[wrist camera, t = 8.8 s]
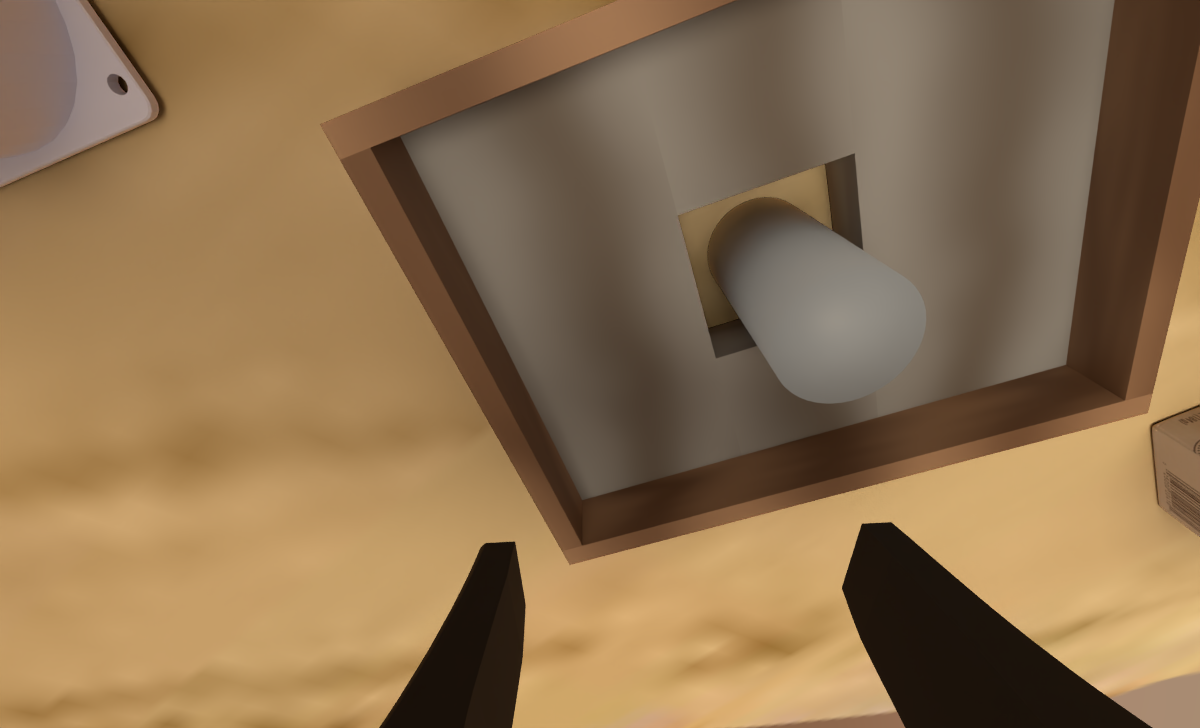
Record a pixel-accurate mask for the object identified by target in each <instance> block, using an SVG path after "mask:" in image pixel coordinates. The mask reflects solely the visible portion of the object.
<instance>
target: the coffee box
mask: <svg viewBox="0 0 1200 728" xmlns="http://www.w3.org/2000/svg"><path fill="white" fill-rule="evenodd" d="M1152 437H1153V448H1154V458H1155V469H1156V479H1157V489H1158V501H1159V506H1160V507H1161V508H1163V509H1164V510H1165V511H1166V512H1168V513H1169V514H1170V515H1172V516H1173V517H1174V518H1175V519H1177V520H1178V521H1179V522H1181V523H1182V524H1183V525H1185V526H1186V527H1187V528H1189V529H1190V530H1191V531H1193V532H1194V533H1195V534H1197V535H1198V536H1199V537H1200V407H1197V408H1195V409H1192V410H1189V411H1187V412H1184V413H1182V414H1179V415H1177V416H1174V417H1171V418H1169V419H1166V420H1164V421H1162V422H1159V423H1157V424H1155V425H1154V426H1153V427H1152Z"/></svg>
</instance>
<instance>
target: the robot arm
mask: <svg viewBox="0 0 1200 728" xmlns="http://www.w3.org/2000/svg"><path fill="white" fill-rule="evenodd" d="M119 76H121V77H122V78H123V79H124V80H125V81H126V83H127V86H128V92H127V93H126V92H125V91H124V90H123V89H122V88H121V87H120V85H119V83H118V77H119ZM158 113H159V107H158V103H157V101H156V99H155V97H154V95H153V94H152V92H151V91H150V89H149V88H148V87H147V85H146V84H145V82H144V81H143V79H142V78H141V77H140V75H139V74H138V72H137V71H136V69H135V68H134V67H133V65H132V64H131V62H130V61H129V59H128V58H127V57H126V55H125V54H124V52H123V51H122V49H121V48H120V47H119V45H118V44H117V42H116V41H115V39H114V38H113V37H112V35H111V34H110V32H109V31H108V29H107V28H106V27H105V25H104V24H103V22H102V21H101V19H100V18H99V17H98V15H97V14H96V12H95V11H94V9H93V8H92V7H91V5H90V4H89V2H88V1H87V0H0V187H3V186H5V185H7V184H10V183H12V182H14V181H16V180H19V179H21V178H23V177H25V176H28V175H30V174H32V173H35V172H37V171H39V170H41V169H44V168H46V167H48V166H50V165H53V164H55V163H57V162H60V161H62V160H64V159H66V158H69V157H71V156H73V155H75V154H78V153H80V152H82V151H85V150H87V149H89V148H91V147H94V146H96V145H98V144H100V143H103V142H105V141H107V140H109V139H112V138H114V137H116V136H119V135H121V134H123V133H125V132H128V131H130V130H132V129H134V128H137V127H139V126H141V125H144V124H146V123H148V122H150V121H153V120H154V119H155V118H156V117H157V116H158ZM842 590H843V592H844V595H845V598H846V601H847V604H848V607H849V609H850V612H851V615H852V618H853V620H854V623H855V625H856V628H857V631H858V633H859V636H860V638H861V640H862V643H863V645H864V647H865V649H866V651H867V653H868V655H869V657H870V659H871V661H872V663H873V665H874V667H875V669H876V671H877V673H878V675H879V677H880V679H881V681H882V683H883V685H884V687H885V689H886V691H887V693H888V695H889V696H890V698H891V700H892V702H893V704H894V706H895V708H896V710H897V712H898V714H899V716H900V718H901V720H902V722H903V724H904V726H905V728H1152V727H1150V726H1149V725H1147V724H1146V723H1145V722H1143V721H1142V720H1140V719H1139V718H1137V717H1136V716H1135V715H1133V714H1132V713H1130V712H1129V711H1127V710H1126V709H1124V708H1123V707H1122V706H1120V705H1119V704H1117V703H1116V702H1114V701H1113V700H1112V699H1110V698H1109V697H1107V696H1106V695H1104V694H1103V693H1102V692H1100V691H1099V690H1097V689H1096V688H1095V687H1093V686H1092V685H1090V684H1089V683H1088V682H1086V681H1085V680H1084V679H1082V678H1081V677H1079V676H1078V675H1077V674H1075V673H1074V672H1073V671H1071V670H1070V669H1069V668H1067V667H1066V666H1065V665H1063V664H1062V663H1061V662H1060V661H1058V660H1057V659H1056V658H1054V657H1053V656H1052V655H1050V654H1049V653H1048V652H1046V651H1045V650H1044V649H1043V648H1041V647H1040V646H1039V645H1037V644H1036V643H1035V642H1033V641H1032V640H1031V639H1030V638H1028V637H1027V636H1026V635H1025V634H1023V633H1022V632H1021V631H1020V630H1018V629H1017V628H1016V627H1015V626H1013V625H1012V624H1011V623H1010V622H1008V621H1007V620H1006V619H1005V618H1003V617H1002V616H1001V615H1000V614H998V613H997V612H996V611H995V610H994V609H992V608H991V607H990V606H989V605H988V604H986V603H985V602H984V601H983V600H982V599H980V598H979V597H978V596H977V595H976V594H974V593H973V592H972V591H971V590H970V589H968V588H967V587H966V586H965V585H964V584H963V583H961V582H960V581H959V580H958V579H957V578H956V577H954V576H953V575H952V574H951V573H950V572H949V571H947V570H946V569H945V568H944V567H943V566H942V565H940V564H939V563H938V562H937V561H936V560H935V559H933V558H932V557H931V556H930V555H929V554H928V553H927V552H925V551H924V550H923V549H922V548H921V547H920V546H918V545H917V544H916V543H915V542H914V541H913V540H911V539H910V538H909V537H908V536H907V535H906V534H904V533H903V532H902V531H901V530H900V529H899V528H897V527H896V526H895V525H894V524H893V523H891V522H888V523H868V524H862V525H861V528H860V532H859V535H858V538H857V541H856V544H855V548H854V551H853V554H852V557H851V560H850V564H849V567H848V570H847V573H846V576H845V580H844V583H843V586H842ZM525 606H526V604H525V598H524V592H523V586H522V580H521V574H520V568H519V562H518V557H517V551H516V545H515V542H499V543H485V544H484V545H483V546H482V547H481V548H480V550H479V553H478V555H477V558H476V560H475V562H474V564H473V566H472V569H471V571H470V573H469V575H468V577H467V579H466V581H465V583H464V585H463V587H462V589H461V591H460V593H459V595H458V597H457V599H456V601H455V603H454V605H453V607H452V609H451V611H450V612H449V614H448V616H447V618H446V620H445V621H444V623H443V625H442V627H441V629H440V631H439V632H438V634H437V636H436V638H435V640H434V641H433V643H432V645H431V647H430V648H429V650H428V652H427V653H426V655H425V657H424V658H423V660H422V662H421V663H420V665H419V667H418V668H417V670H416V671H415V673H414V675H413V676H412V678H411V680H410V681H409V683H408V684H407V686H406V688H405V689H404V691H403V692H402V694H401V696H400V697H399V699H398V700H397V702H396V703H395V705H394V707H393V708H392V710H391V711H390V713H389V714H388V716H387V717H386V719H385V720H384V722H383V723H382V725H381V726H380V727H379V728H512V724H513V717H514V711H515V704H516V698H517V691H518V685H519V678H520V671H521V665H522V658H523V642H524V625H525Z"/></svg>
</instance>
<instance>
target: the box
mask: <svg viewBox="0 0 1200 728" xmlns="http://www.w3.org/2000/svg"><path fill="white" fill-rule="evenodd" d="M320 125H321V127H322V129H323V131H324V133H325V134H326V136H327V138H328V140H329V141H330V143H331V145H332V147H333V148H334V150H335V152H336V154H337V155H338V157H339V159H340V161H341V162H342V164H343V166H344V168H345V170H346V171H347V173H348V175H349V177H350V178H351V180H352V182H353V184H354V185H355V187H356V189H357V191H358V192H359V194H360V196H361V198H362V199H363V201H364V203H365V205H366V207H367V208H368V210H369V212H370V214H371V215H372V217H373V219H374V221H375V222H376V224H377V226H378V228H379V229H380V231H381V233H382V235H383V236H384V238H385V240H386V242H387V244H388V245H389V247H390V249H391V251H392V252H393V254H394V256H395V258H396V259H397V261H398V263H399V265H400V266H401V268H402V270H403V272H404V273H405V275H406V277H407V279H408V281H409V282H410V284H411V286H412V288H413V289H414V291H415V293H416V295H417V296H418V298H419V300H420V302H421V303H422V305H423V307H424V309H425V310H426V312H427V314H428V316H429V318H430V319H431V321H432V323H433V325H434V326H435V328H436V330H437V332H438V333H439V335H440V337H441V339H442V340H443V342H444V344H445V346H446V347H447V349H448V351H449V353H450V355H451V356H452V358H453V360H454V362H455V363H456V365H457V367H458V369H459V370H460V372H461V374H462V376H463V377H464V379H465V381H466V383H467V385H468V386H469V388H470V390H471V392H472V393H473V395H474V397H475V399H476V400H477V402H478V404H479V406H480V407H481V409H482V411H483V413H484V414H485V416H486V418H487V420H488V422H489V423H490V425H491V427H492V429H493V430H494V432H495V434H496V436H497V437H498V439H499V441H500V443H501V444H502V446H503V448H504V450H505V451H506V453H507V455H508V457H509V459H510V460H511V462H512V464H513V466H514V467H515V469H516V471H517V473H518V474H519V476H520V478H521V480H522V481H523V483H524V485H525V487H526V488H527V490H528V492H529V494H530V496H531V497H532V499H533V501H534V503H535V504H536V506H537V508H538V510H539V511H540V513H541V515H542V517H543V518H544V520H545V522H546V524H547V525H548V527H549V529H550V531H551V533H552V534H553V536H554V538H555V540H556V541H557V543H558V545H559V547H560V548H561V550H562V552H563V554H564V555H565V557H566V559H567V561H568V562H569V564H570V565H571V564H575V563H579V562H582V561H586V560H590V559H594V558H598V557H601V556H605V555H609V554H613V553H617V552H621V551H624V550H628V549H632V548H636V547H640V546H643V545H647V544H651V543H655V542H659V541H662V540H666V539H670V538H674V537H678V536H681V535H685V534H689V533H693V532H697V531H700V530H704V529H708V528H712V527H716V526H719V525H723V524H727V523H731V522H735V521H738V520H742V519H746V518H750V517H754V516H757V515H761V514H765V513H769V512H773V511H776V510H780V509H784V508H788V507H792V506H796V505H799V504H803V503H807V502H811V501H815V500H818V499H822V498H826V497H830V496H834V495H837V494H841V493H845V492H849V491H853V490H856V489H860V488H864V487H868V486H872V485H875V484H879V483H883V482H887V481H891V480H894V479H898V478H902V477H906V476H910V475H913V474H917V473H921V472H925V471H929V470H932V469H936V468H940V467H944V466H948V465H951V464H955V463H959V462H963V461H967V460H970V459H974V458H978V457H982V456H986V455H990V454H993V453H997V452H1001V451H1005V450H1009V449H1012V448H1016V447H1020V446H1024V445H1028V444H1031V443H1035V442H1039V441H1043V440H1047V439H1050V438H1054V437H1058V436H1062V435H1066V434H1069V433H1073V432H1077V431H1081V430H1085V429H1088V428H1092V427H1096V426H1100V425H1104V424H1107V423H1111V422H1115V421H1119V420H1123V419H1126V418H1130V417H1134V416H1138V415H1142V414H1145V413H1148V410H1149V406H1150V402H1151V397H1152V393H1153V389H1154V385H1155V381H1156V377H1157V373H1158V368H1159V364H1160V360H1161V356H1162V352H1163V348H1164V343H1165V339H1166V335H1167V331H1168V327H1169V323H1170V318H1171V314H1172V310H1173V306H1174V302H1175V298H1176V294H1177V289H1178V285H1179V281H1180V277H1181V273H1182V269H1183V264H1184V260H1185V256H1186V252H1187V248H1188V244H1189V240H1190V235H1191V231H1192V227H1193V223H1194V219H1195V215H1196V210H1197V206H1198V202H1199V198H1200V0H617V1H615V2H613V3H610V4H608V5H605V6H603V7H601V8H598V9H596V10H593V11H591V12H589V13H586V14H584V15H581V16H579V17H577V18H574V19H572V20H569V21H567V22H565V23H562V24H560V25H557V26H555V27H553V28H550V29H548V30H545V31H543V32H541V33H538V34H536V35H533V36H531V37H529V38H526V39H524V40H521V41H519V42H517V43H514V44H512V45H509V46H507V47H505V48H502V49H500V50H497V51H495V52H493V53H490V54H488V55H485V56H483V57H481V58H478V59H476V60H473V61H471V62H469V63H466V64H464V65H461V66H459V67H457V68H454V69H452V70H449V71H447V72H445V73H442V74H440V75H437V76H435V77H433V78H430V79H428V80H425V81H423V82H421V83H418V84H416V85H413V86H411V87H409V88H406V89H404V90H401V91H399V92H397V93H394V94H392V95H389V96H387V97H385V98H382V99H380V100H377V101H375V102H373V103H370V104H368V105H365V106H363V107H361V108H358V109H356V110H353V111H351V112H349V113H346V114H344V115H341V116H339V117H337V118H334V119H332V120H329V121H327V122H325V123H322V124H320ZM823 164H826V173H827V182H828V190H829V199H830V207H831V216H832V224H833V231H834V232H835V233H837V234H838V235H840V236H842V237H843V238H845V239H846V240H848V241H849V242H851V243H852V244H854V245H856V246H857V247H859V248H860V249H862V250H863V251H865V252H866V253H868V254H870V255H871V256H873V257H874V258H876V259H877V260H879V261H880V262H882V263H884V264H885V265H887V266H888V267H890V268H891V269H893V270H894V271H896V272H898V273H899V274H901V275H902V276H904V277H905V278H906V279H908V280H909V281H910V282H911V283H912V284H913V285H914V286H915V287H916V288H917V290H918V291H919V293H920V294H921V296H922V299H923V301H924V305H925V309H926V328H925V332H924V336H923V339H922V342H921V344H920V347H919V348H918V350H917V352H916V354H915V356H914V357H913V359H912V360H911V361H910V363H909V364H908V365H907V366H906V368H905V369H904V370H903V371H902V372H901V373H900V374H899V375H898V376H897V377H896V378H894V379H893V380H892V381H891V382H889V383H888V384H887V385H885V386H883V387H882V388H880V389H879V390H877V391H875V392H873V393H871V394H869V395H867V396H864V397H862V398H859V399H856V400H852V401H848V402H843V403H834V404H826V403H816V402H812V401H808V400H805V399H802V398H800V397H798V396H796V395H794V394H793V393H791V392H790V391H789V390H788V389H786V388H785V387H784V386H783V384H782V383H781V382H780V380H779V379H778V377H777V376H776V374H775V373H774V371H773V370H772V368H771V366H770V365H769V363H768V362H767V360H766V359H765V357H764V355H763V354H762V352H761V351H760V349H759V348H758V346H757V345H756V343H755V341H754V340H753V338H752V337H751V335H750V334H749V332H748V330H747V329H746V327H745V326H744V324H743V323H742V321H741V319H738V320H734V321H731V322H728V323H725V324H722V325H719V326H716V327H712V328H709V329H708V327H707V323H706V319H705V316H704V312H703V308H702V304H701V301H700V297H699V293H698V289H697V286H696V282H695V278H694V275H693V271H692V267H691V263H690V260H689V256H688V252H687V248H686V245H685V241H684V237H683V233H682V230H681V226H680V222H679V218H678V215H680V214H683V213H686V212H689V211H692V210H694V209H697V208H700V207H703V206H706V205H709V204H712V203H714V202H717V201H720V200H723V199H726V198H729V197H731V196H734V195H737V194H740V193H743V192H746V191H749V190H751V189H754V188H757V187H760V186H763V185H766V184H769V183H771V182H774V181H777V180H780V179H783V178H786V177H788V176H791V175H794V174H797V173H800V172H803V171H806V170H808V169H811V168H814V167H817V166H820V165H823Z"/></svg>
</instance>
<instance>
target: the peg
mask: <svg viewBox="0 0 1200 728" xmlns="http://www.w3.org/2000/svg"><path fill="white" fill-rule="evenodd" d="M708 265H709V268H710V271H711V273H712V276H713V277H714V279H715V280H716V282H717V284H718V285H719V287H720V288H721V290H722V291H723V293H724V294H725V296H726V298H727V299H728V301H729V302H730V304H731V305H732V307H733V309H734V310H735V312H736V313H737V315H738V316H739V318H740V319H741V321H742V323H743V324H744V326H745V327H746V329H747V330H748V332H749V334H750V335H751V337H752V338H753V340H754V341H755V343H756V345H757V346H758V348H759V349H760V351H761V352H762V354H763V355H764V357H765V359H766V360H767V362H768V363H769V365H770V366H771V368H772V370H773V371H774V373H775V374H776V376H777V377H778V379H779V380H780V382H781V383H782V384H783V386H784V387H785V388H786V389H788V390H789V391H790V392H791V393H793V394H794V395H796V396H798V397H800V398H802V399H805V400H808V401H812V402H816V403H826V404H834V403H843V402H848V401H852V400H856V399H859V398H862V397H864V396H867V395H869V394H871V393H873V392H875V391H877V390H879V389H880V388H882V387H883V386H885V385H887V384H888V383H889V382H891V381H892V380H893V379H894V378H896V377H897V376H898V375H899V374H900V373H901V372H902V371H903V370H904V369H905V368H906V366H907V365H908V364H909V363H910V361H911V360H912V359H913V357H914V356H915V354H916V352H917V350H918V348H919V347H920V344H921V342H922V339H923V336H924V332H925V328H926V309H925V305H924V301H923V299H922V296H921V294H920V293H919V291H918V290H917V288H916V287H915V286H914V285H913V284H912V283H911V282H910V281H909V280H908V279H906V278H905V277H904V276H902V275H901V274H899V273H898V272H896V271H894V270H893V269H891V268H890V267H888V266H887V265H885V264H884V263H882V262H880V261H879V260H877V259H876V258H874V257H873V256H871V255H870V254H868V253H866V252H865V251H863V250H862V249H860V248H859V247H857V246H856V245H854V244H852V243H851V242H849V241H848V240H846V239H845V238H843V237H842V236H840V235H838V234H837V233H835V232H834V231H832V230H831V229H829V228H828V227H826V226H824V225H823V224H821V223H820V222H818V221H817V220H815V219H814V218H812V217H810V216H809V215H807V214H806V213H804V212H803V211H801V210H800V209H798V208H796V207H795V206H793V205H792V204H790V203H788V202H786V201H784V200H781V199H777V198H770V197H764V198H756V199H752V200H749V201H746V202H744V203H742V204H740V205H738V206H736V207H735V208H733V209H732V210H731V211H730V212H728V213H727V214H726V215H725V216H724V217H723V218H722V219H721V221H720V222H719V223H718V225H717V226H716V228H715V230H714V231H713V234H712V236H711V238H710V242H709V246H708Z"/></svg>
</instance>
